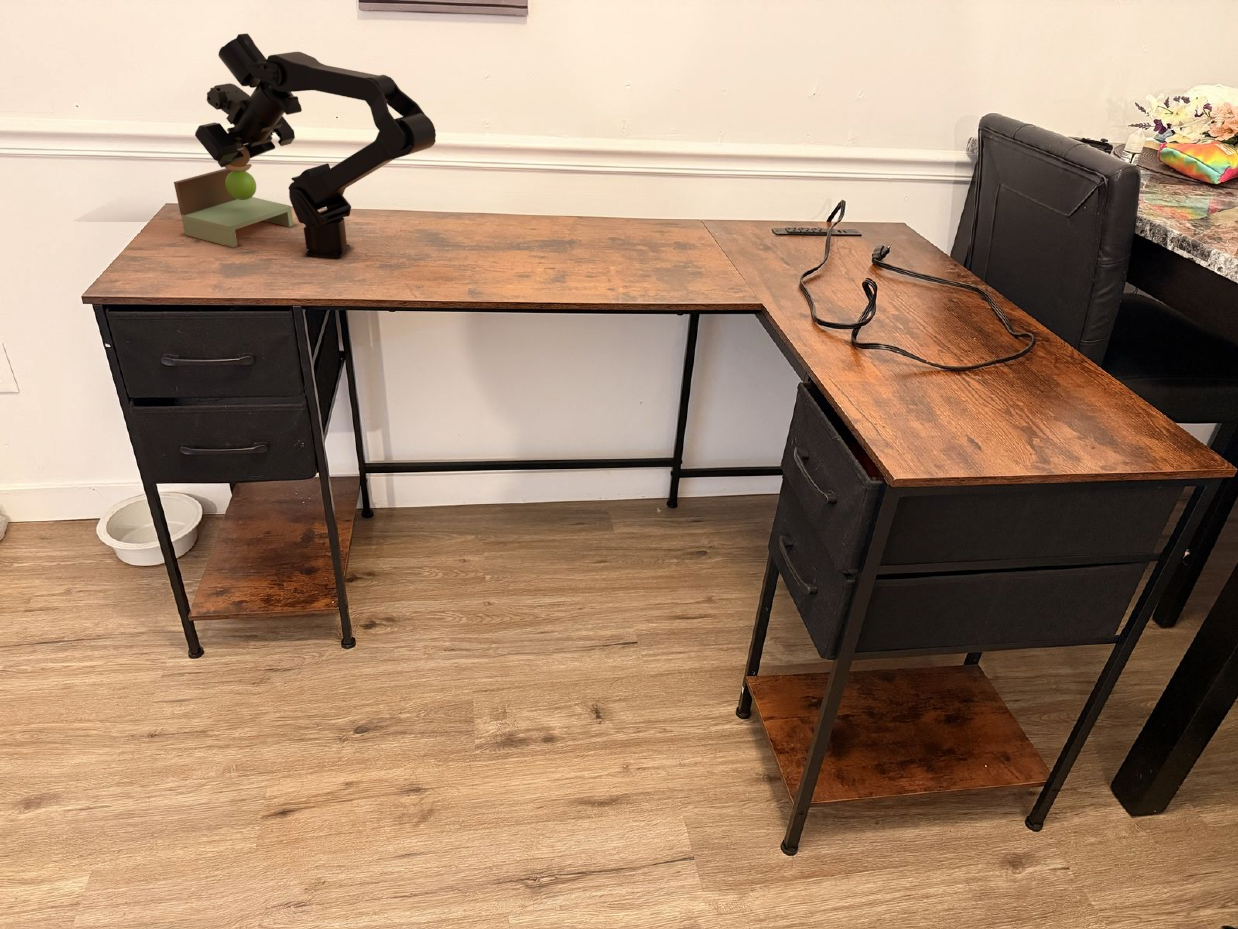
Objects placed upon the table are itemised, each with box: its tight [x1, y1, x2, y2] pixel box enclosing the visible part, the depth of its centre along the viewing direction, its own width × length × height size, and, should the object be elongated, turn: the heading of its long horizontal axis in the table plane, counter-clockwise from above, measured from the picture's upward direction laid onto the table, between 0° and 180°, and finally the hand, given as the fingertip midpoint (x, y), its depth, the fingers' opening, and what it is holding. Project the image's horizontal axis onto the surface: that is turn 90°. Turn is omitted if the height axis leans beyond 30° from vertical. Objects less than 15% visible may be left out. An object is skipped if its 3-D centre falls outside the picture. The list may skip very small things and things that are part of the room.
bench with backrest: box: [173, 167, 295, 248], centre depth 164 cm, size 12×16×10 cm
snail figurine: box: [224, 146, 257, 200], centre depth 160 cm, size 5×6×12 cm
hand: (228, 162), depth 160 cm, fingers closed on snail figurine, 4 cm apart
